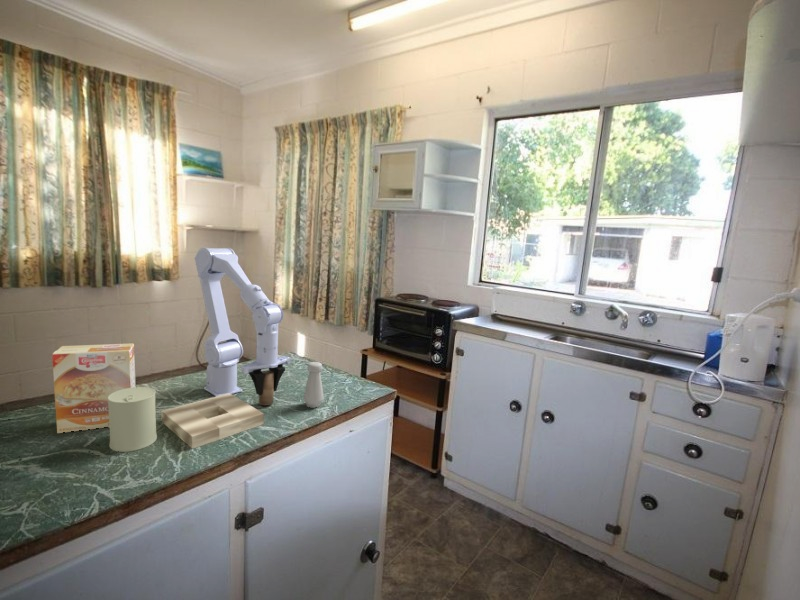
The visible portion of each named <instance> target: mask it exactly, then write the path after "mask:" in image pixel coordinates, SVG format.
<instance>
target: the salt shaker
mask: <svg viewBox="0 0 800 600" xmlns="http://www.w3.org/2000/svg"><path fill="white" fill-rule="evenodd" d="M306 369H307V372H308V375H307V381H306V385H305V389H304V394H303V402H304V403H305V405H306V407H308V408H309V407H310V408H311V409H315V407H317V408H319V407H320V406H321V405H322V402H323V401H324V390H323V384H322V382H323V381H322V376H321V372H322V371H323V364H322V363H321V362H319V361H311V362H309V363H308V364H307V368H306Z"/></svg>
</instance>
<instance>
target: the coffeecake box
mask: <svg viewBox="0 0 800 600" xmlns="http://www.w3.org/2000/svg"><path fill="white" fill-rule="evenodd" d="M135 363H136V362H135V343H133V342H132V343H131V342H129V343H116V344H115V343H111V344H110V343H107V344H87V345H85V344H82V345H80V344H79V345H61V346H60V347H59V348H58V349H57V350H55V351H54V352H52V373H53V388H54V389H53V390H54V404H55V420H56V422H55V423H56V431H57V432H56V433H57V434H63V432H65V433H72V432H71V431H74V432H80V431H79V430H82V431H88V429H90V430H97V429H96V428H99V429H105V428H104V427H108V428H110V427H109V408H108V399H107V398H108V396H109V395H110V394H112V393H113V392H116V391H119V390H122V389H126V388H132V387H136V366H135V365H136V364H135Z"/></svg>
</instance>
